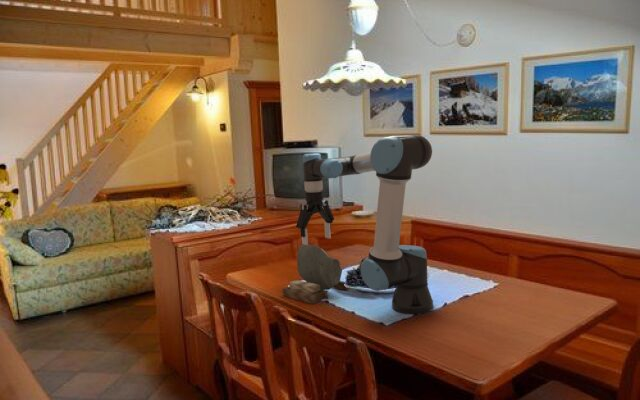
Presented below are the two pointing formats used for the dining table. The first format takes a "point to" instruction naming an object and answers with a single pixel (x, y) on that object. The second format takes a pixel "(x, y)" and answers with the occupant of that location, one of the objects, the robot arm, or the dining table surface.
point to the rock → (318, 267)
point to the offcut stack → (305, 287)
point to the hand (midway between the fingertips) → (316, 241)
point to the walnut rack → (309, 297)
